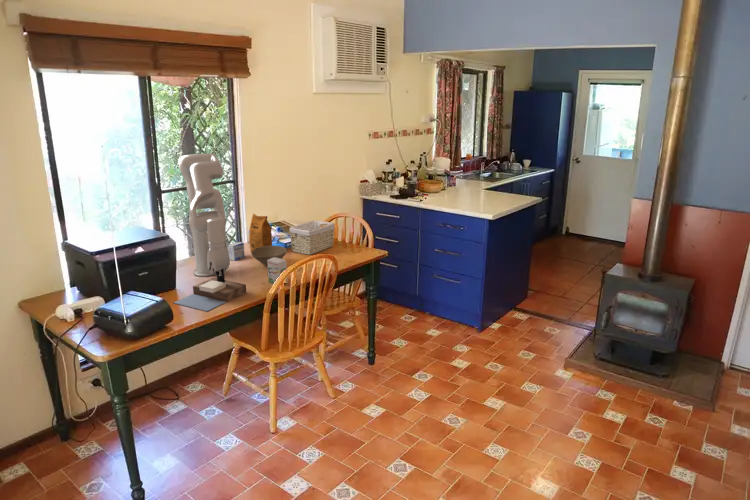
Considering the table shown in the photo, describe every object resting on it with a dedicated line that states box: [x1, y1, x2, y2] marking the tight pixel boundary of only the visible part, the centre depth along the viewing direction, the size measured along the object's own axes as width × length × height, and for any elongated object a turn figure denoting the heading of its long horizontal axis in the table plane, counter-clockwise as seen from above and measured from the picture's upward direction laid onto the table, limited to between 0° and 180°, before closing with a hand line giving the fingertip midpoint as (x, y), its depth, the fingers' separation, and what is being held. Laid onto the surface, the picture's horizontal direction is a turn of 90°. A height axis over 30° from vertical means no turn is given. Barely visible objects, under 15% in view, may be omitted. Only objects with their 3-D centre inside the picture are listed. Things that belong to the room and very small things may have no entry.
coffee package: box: [249, 213, 273, 253], centre depth 298 cm, size 10×12×22 cm
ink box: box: [267, 257, 288, 284], centre depth 251 cm, size 8×5×12 cm, turn 55°
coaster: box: [199, 280, 226, 293], centre depth 234 cm, size 8×8×2 cm
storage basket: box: [289, 219, 336, 256], centre depth 304 cm, size 24×16×15 cm
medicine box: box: [227, 241, 246, 262], centre depth 288 cm, size 8×4×9 cm, turn 148°
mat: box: [173, 293, 227, 313], centre depth 229 cm, size 11×20×1 cm, turn 62°
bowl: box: [250, 245, 288, 266], centre depth 278 cm, size 18×18×8 cm
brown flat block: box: [192, 277, 247, 303], centre depth 239 cm, size 13×20×4 cm, turn 62°
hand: (221, 283), depth 239 cm, fingers closed
